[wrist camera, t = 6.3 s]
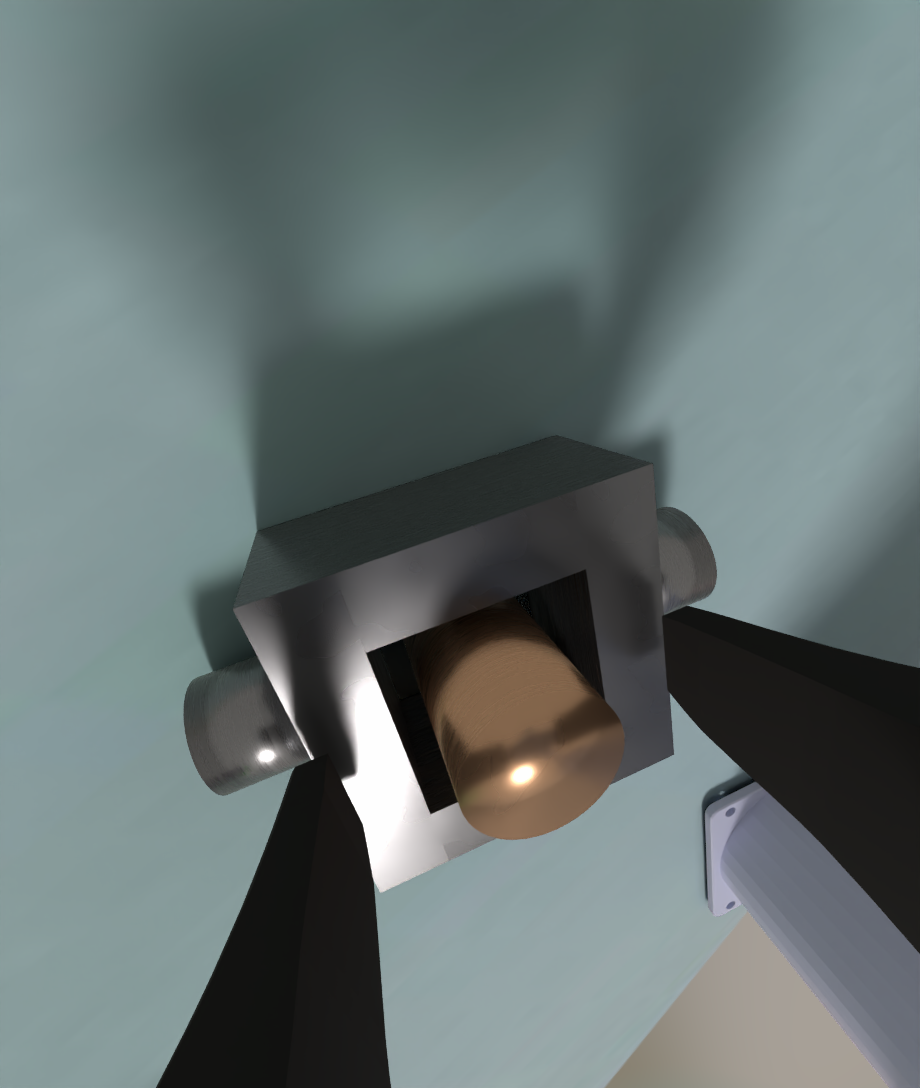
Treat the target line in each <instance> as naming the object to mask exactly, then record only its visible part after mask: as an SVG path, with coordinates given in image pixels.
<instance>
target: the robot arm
mask: <svg viewBox="0 0 920 1088" xmlns="http://www.w3.org/2000/svg"><path fill="white" fill-rule="evenodd" d="M662 625H663V639H664V652H665V666H666V679H667V690H668V691H669V692H670V694H671V695H672V696H673V697H674V699H675V700H676V701H677V702H678V703H679V705H680V706H681V707H682V708H683V710H684V711H685V712H686V713H687V714H688V715H689V717H690V718H691V719H692V720H693V721H694V722H695V723H696V725H697V726H698V727H699V728H700V729H701V730H702V731H703V732H704V733H705V734H706V735H707V736H708V737H709V738H710V739H711V740H712V741H713V742H714V743H715V744H716V745H717V746H718V747H719V748H721V749H722V750H723V751H724V752H725V753H726V754H727V755H728V756H729V757H730V758H731V759H732V760H733V761H734V762H735V763H736V764H738V765H739V766H740V767H741V768H742V769H743V770H744V771H745V772H746V773H747V774H748V775H749V776H750V777H752V778H753V779H754V780H755V781H756V782H754V783H752V784H750V785H748V786H746V787H744V788H742V789H740V790H738V791H736V792H734V793H732V794H730V795H728V796H726V797H724V798H722V799H720V800H718V801H716V802H714V803H712V804H711V805H709V806H708V808H707V809H706V811H705V831H706V858H707V886H708V908H709V910H710V911H711V912H712V914H713V915H714V916H721V915H723V914H725V913H727V912H729V911H731V910H732V909H734V908H736V907H738V906H740V905H741V904H743V906H744V907H745V908H746V909H747V911H748V912H749V913H750V914H751V916H752V917H753V918H754V919H755V921H756V922H757V923H758V924H759V926H760V927H761V928H762V929H763V931H764V932H765V933H766V934H767V936H768V937H769V938H770V939H771V941H772V942H773V943H774V944H775V946H776V947H777V948H778V949H779V951H780V952H781V953H782V954H783V955H784V957H785V958H786V959H787V961H788V962H789V963H790V964H791V966H792V967H793V968H794V969H795V971H796V972H797V973H798V974H799V975H800V977H801V978H802V979H803V981H804V982H805V983H806V984H807V986H808V987H809V988H810V989H811V991H812V992H813V993H814V994H815V996H816V997H817V998H818V999H819V1001H820V1002H821V1003H822V1004H823V1006H824V1007H825V1008H826V1009H827V1011H828V1012H829V1013H830V1014H831V1016H832V1017H833V1018H834V1019H835V1021H836V1022H837V1023H838V1024H839V1025H840V1027H841V1028H842V1029H843V1031H844V1032H845V1033H846V1034H847V1036H848V1037H849V1038H850V1039H851V1041H852V1042H853V1043H854V1044H855V1046H856V1047H857V1048H858V1049H859V1051H860V1052H861V1053H862V1054H863V1056H864V1057H865V1058H866V1059H867V1060H868V1062H869V1063H870V1064H871V1066H872V1067H873V1068H874V1069H875V1071H876V1072H877V1073H878V1074H879V1076H880V1077H881V1078H882V1079H883V1081H884V1082H885V1083H886V1084H887V1086H888V1087H889V1088H920V668H917V667H912V666H908V665H903V664H898V663H894V662H890V661H885V660H881V659H877V658H873V657H869V656H865V655H861V654H857V653H853V652H849V651H845V650H841V649H837V648H834V647H830V646H826V645H822V644H819V643H815V642H812V641H808V640H804V639H801V638H797V637H794V636H790V635H787V634H783V633H780V632H777V631H773V630H770V629H766V628H763V627H760V626H756V625H753V624H750V623H746V622H743V621H740V620H736V619H733V618H730V617H726V616H723V615H719V614H716V613H712V612H709V611H705V610H702V609H698V608H694V607H690V606H685V607H682V608H680V609H677V610H675V611H673V612H670V613H668V614H665V615H663V616H662ZM156 1088H391V1084H390V1076H389V1067H388V1058H387V1048H386V1039H385V1025H384V1011H383V998H382V984H381V971H380V957H379V943H378V930H377V917H376V904H375V892H374V881H373V876H372V870H371V864H370V858H369V853H368V847H367V842H366V837H365V831H364V826H363V823H362V821H361V819H360V817H359V815H358V813H357V811H356V809H355V807H354V805H353V803H352V801H351V799H350V797H349V795H348V793H347V791H346V789H345V787H344V785H343V783H342V781H341V779H340V777H339V775H338V773H337V771H336V769H335V767H334V765H333V763H332V761H331V759H330V757H329V755H328V753H327V754H325V755H323V756H320V757H318V758H315V759H313V760H310V761H308V762H306V763H303V764H301V765H298V766H296V767H295V768H294V770H293V772H292V774H291V777H290V780H289V783H288V786H287V789H286V792H285V794H284V797H283V800H282V803H281V806H280V809H279V812H278V814H277V817H276V820H275V823H274V826H273V828H272V831H271V834H270V836H269V839H268V842H267V845H266V847H265V850H264V852H263V855H262V858H261V860H260V863H259V865H258V868H257V870H256V873H255V875H254V878H253V880H252V883H251V885H250V888H249V891H248V893H247V896H246V898H245V900H244V903H243V905H242V908H241V910H240V912H239V915H238V917H237V919H236V921H235V924H234V926H233V928H232V931H231V933H230V935H229V937H228V940H227V942H226V944H225V946H224V949H223V951H222V953H221V956H220V958H219V960H218V962H217V965H216V967H215V969H214V971H213V974H212V976H211V978H210V980H209V982H208V984H207V986H206V989H205V991H204V993H203V995H202V997H201V999H200V1001H199V1003H198V1005H197V1008H196V1010H195V1012H194V1014H193V1016H192V1018H191V1020H190V1022H189V1024H188V1026H187V1028H186V1030H185V1032H184V1034H183V1036H182V1038H181V1040H180V1042H179V1044H178V1046H177V1048H176V1050H175V1052H174V1054H173V1056H172V1058H171V1060H170V1062H169V1064H168V1066H167V1068H166V1069H165V1071H164V1073H163V1075H162V1077H161V1079H160V1081H159V1083H158V1085H157V1087H156Z"/></svg>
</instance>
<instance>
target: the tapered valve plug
mask: <svg viewBox="0 0 920 1088" xmlns="http://www.w3.org/2000/svg"><path fill="white" fill-rule="evenodd" d="M403 642H404V645H405V648H406V651H407V654H408V657H409V660H410V663H411V665H412V668H413V671H414V674H415V677H416V680H417V683H418V686H419V689H420V692H421V695H422V698H423V701H424V704H425V707H426V710H427V713H428V715H429V718H430V721H431V724H432V727H433V730H434V733H435V736H436V739H437V742H438V745H439V748H440V751H441V754H442V757H443V760H444V762H445V765H446V768H447V771H448V774H449V777H450V780H451V783H452V786H453V789H454V792H455V795H456V798H457V801H458V804H459V807H460V809H461V811H462V814H463V816H464V817H465V819H466V820H467V821H468V823H469V824H470V825H471V826H472V827H473V828H475V829H476V830H478V831H479V832H481V833H483V834H485V835H488V836H491V837H494V838H499V839H506V840H517V839H527V838H531V837H536V836H539V835H543V834H546V833H549V832H551V831H553V830H556V829H558V828H560V827H562V826H564V825H566V824H568V823H569V822H571V821H572V820H574V819H576V818H577V817H578V816H580V815H581V814H582V813H584V812H585V811H586V810H587V809H588V808H590V807H591V806H592V805H593V804H594V803H595V802H596V801H597V800H598V799H599V798H600V797H601V795H602V794H603V793H604V792H605V790H606V789H607V788H608V786H609V785H610V783H611V782H612V780H613V779H614V777H615V775H616V773H617V771H618V769H619V766H620V763H621V760H622V757H623V753H624V745H625V741H624V731H623V727H622V724H621V721H620V719H619V717H618V716H617V714H616V713H615V712H614V710H613V709H612V708H611V707H610V706H609V705H608V704H607V702H606V701H605V700H604V699H603V698H602V697H601V696H600V694H599V693H598V692H597V691H596V690H595V689H594V688H593V687H592V685H591V684H590V683H589V682H588V681H587V680H586V679H585V677H584V676H583V675H582V674H581V673H580V672H579V671H578V669H577V668H576V667H575V666H574V665H573V664H572V663H571V661H570V660H569V659H568V658H567V657H566V656H565V655H564V653H563V652H562V651H561V650H560V649H559V648H558V647H557V646H556V644H555V643H554V642H553V641H552V640H551V639H550V638H549V636H548V635H547V634H546V633H545V632H544V631H543V630H542V628H541V627H540V626H539V625H538V624H537V623H536V622H535V620H534V619H533V618H532V617H531V616H530V615H529V614H528V612H527V611H526V610H525V609H524V608H523V607H522V606H521V604H520V603H519V602H518V601H517V600H516V599H515V598H514V597H511V598H509V599H506V600H504V601H501V602H498V603H496V604H493V605H490V606H488V607H485V608H482V609H480V610H477V611H475V612H472V613H469V614H467V615H464V616H461V617H459V618H456V619H454V620H451V621H448V622H446V623H443V624H440V625H438V626H435V627H432V628H430V629H427V630H425V631H422V632H419V633H417V634H414V635H411V636H409V637H406V638H404V639H403Z"/></svg>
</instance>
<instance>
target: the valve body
mask: <svg viewBox="0 0 920 1088" xmlns="http://www.w3.org/2000/svg"><path fill="white" fill-rule="evenodd" d="M716 578H717V570H716V562H715V558H714V554H713V551H712V549H711V546H710V544H709V542H708V540H707V538H706V536H705V535H704V533H703V532H702V530H701V529H700V527H699V526H698V525H697V524H696V523H695V522H694V521H693V520H692V519H691V518H690V517H689V516H688V515H687V514H685V513H684V512H682V511H680V510H678V509H676V508H673V507H662V508H659V509H656V498H655V484H654V470H653V463H649V462H646V461H643V460H639V459H636V458H632V457H629V456H626V455H622V454H619V453H615V452H612V451H608V450H605V449H602V448H598V447H595V446H591V445H588V444H584V443H581V442H578V441H574V440H571V439H567V438H564V437H561V436H557V435H555V436H552V437H549V438H546V439H543V440H540V441H537V442H534V443H531V444H527V445H524V446H521V447H518V448H515V449H512V450H509V451H506V452H503V453H499V454H496V455H493V456H490V457H487V458H484V459H481V460H478V461H475V462H472V463H468V464H465V465H462V466H459V467H456V468H453V469H450V470H447V471H444V472H440V473H437V474H434V475H431V476H428V477H425V478H422V479H419V480H416V481H412V482H409V483H406V484H403V485H400V486H397V487H394V488H391V489H388V490H385V491H381V492H378V493H375V494H372V495H369V496H366V497H363V498H360V499H357V500H353V501H350V502H347V503H344V504H341V505H338V506H335V507H332V508H329V509H325V510H322V511H319V512H316V513H313V514H310V515H307V516H304V517H301V518H297V519H294V520H291V521H288V522H285V523H282V524H279V525H276V526H273V527H270V528H266V529H263V530H260V531H257V533H256V536H255V539H254V542H253V545H252V549H251V552H250V555H249V558H248V562H247V565H246V568H245V571H244V575H243V578H242V581H241V584H240V587H239V591H238V594H237V597H236V600H235V604H234V607H233V611H234V613H235V614H236V616H237V618H238V620H239V622H240V624H241V626H242V628H243V630H244V632H245V634H246V635H247V637H248V639H249V641H250V643H251V645H252V647H253V649H254V651H255V653H256V655H257V656H255V657H252V658H249V659H246V660H244V661H241V662H238V663H235V664H233V665H230V666H227V667H225V668H222V669H219V670H216V671H214V672H211V673H208V674H205V675H203V676H200V677H197V678H195V679H194V680H193V681H192V682H191V683H190V684H189V686H188V688H187V691H186V695H185V700H184V726H185V733H186V738H187V743H188V747H189V750H190V753H191V756H192V759H193V762H194V764H195V767H196V769H197V771H198V773H199V774H200V776H201V778H202V779H203V781H204V782H205V783H206V785H207V786H208V787H209V788H210V789H211V790H212V791H213V792H215V793H216V794H218V795H222V796H224V795H228V794H231V793H233V792H236V791H238V790H240V789H243V788H245V787H248V786H250V785H253V784H255V783H257V782H260V781H262V780H265V779H267V778H270V777H272V776H274V775H277V774H279V773H282V772H284V771H287V770H289V769H291V768H294V767H296V766H298V765H301V764H303V763H306V762H308V761H310V760H313V759H315V758H318V757H320V756H323V755H325V754H327V753H328V755H329V757H330V759H331V761H332V763H333V765H334V767H335V769H336V771H337V773H338V775H339V777H340V779H341V781H342V783H343V785H344V787H345V789H346V791H347V793H348V795H349V797H350V799H351V801H352V803H353V805H354V807H355V809H356V811H357V813H358V815H359V817H360V819H361V821H362V823H363V826H364V831H365V837H366V842H367V847H368V853H369V858H370V864H371V870H372V876H373V879H374V881H375V883H376V885H377V887H378V888H379V890H380V892H381V893H382V892H384V891H386V890H388V889H390V888H392V887H394V886H396V885H398V884H401V883H403V882H405V881H407V880H409V879H411V878H413V877H415V876H418V875H420V874H422V873H424V872H426V871H428V870H430V869H432V868H435V867H437V866H439V865H441V864H443V863H445V862H447V861H449V860H451V859H454V858H456V857H458V856H460V855H462V854H464V853H466V852H468V851H471V850H473V849H475V848H477V847H479V846H481V845H483V844H485V843H487V842H490V841H492V840H494V839H496V838H494V837H491V836H488V835H485V834H483V833H481V832H479V831H478V830H476V829H475V828H473V827H472V826H471V825H470V824H469V823H468V821H467V820H466V819H465V817H464V816H463V814H462V811H461V809H460V807H459V804H458V801H457V798H456V795H455V792H454V789H453V786H452V783H451V780H450V777H449V774H448V771H447V768H446V765H445V762H444V760H443V757H442V754H441V751H440V748H439V745H438V742H437V739H436V736H435V733H434V730H433V727H432V724H431V721H430V718H429V715H428V713H427V710H426V707H425V704H424V701H423V698H422V695H421V693H418V694H416V695H413V696H411V697H408V698H406V699H403V700H401V701H400V700H399V697H398V695H397V692H396V689H395V687H394V684H393V682H392V679H391V676H390V674H389V671H388V669H387V666H386V663H385V661H384V658H383V656H382V653H381V650H380V647H382V646H385V645H388V644H390V643H393V642H396V641H398V640H401V639H404V638H406V637H409V636H411V635H414V634H417V633H419V632H422V631H425V630H427V629H430V628H432V627H435V626H438V625H440V624H443V623H446V622H448V621H451V620H454V619H456V618H459V617H461V616H464V615H467V614H469V613H472V612H475V611H477V610H480V609H482V608H485V607H488V606H490V605H493V604H496V603H498V602H501V601H504V600H506V599H509V598H511V597H514V596H517V595H519V594H522V593H525V592H527V594H528V598H529V603H530V608H531V613H532V617H533V619H534V620H535V622H536V623H537V624H538V625H539V626H540V627H541V628H542V630H543V631H544V632H545V633H546V634H547V635H548V636H549V638H550V639H551V640H552V641H553V642H554V643H555V644H556V646H557V647H558V648H559V649H560V650H561V651H562V652H563V653H564V655H565V656H566V657H567V658H568V659H569V660H570V661H571V663H572V664H573V665H574V666H575V667H576V668H577V669H578V671H579V672H580V673H581V674H582V675H583V676H584V677H585V679H586V680H587V681H588V682H589V683H590V684H591V685H592V687H593V688H594V689H595V690H596V691H597V692H598V693H599V694H600V696H601V697H602V698H603V699H604V700H605V701H606V702H607V704H608V705H609V706H610V707H611V708H612V709H613V710H614V712H615V713H616V714H617V716H618V717H619V719H620V721H621V724H622V727H623V731H624V741H625V745H624V753H623V757H622V760H621V763H620V766H619V769H618V771H617V773H616V775H615V777H614V779H613V780H612V782H611V783H610V784H613V783H615V782H617V781H619V780H621V779H623V778H625V777H627V776H629V775H632V774H634V773H636V772H638V771H640V770H642V769H644V768H646V767H649V766H651V765H653V764H655V763H657V762H659V761H661V760H663V759H665V758H668V757H670V756H672V755H674V748H673V734H672V720H671V706H670V692H669V691H668V690H667V679H666V666H665V652H664V639H663V625H662V616H663V615H665V614H668V613H670V612H673V611H675V610H677V609H680V608H682V607H685V606H687V605H690V604H692V603H695V602H697V601H700V600H702V599H704V598H706V597H708V596H709V595H710V594H711V593H712V591H713V589H714V587H715V584H716Z"/></svg>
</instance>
